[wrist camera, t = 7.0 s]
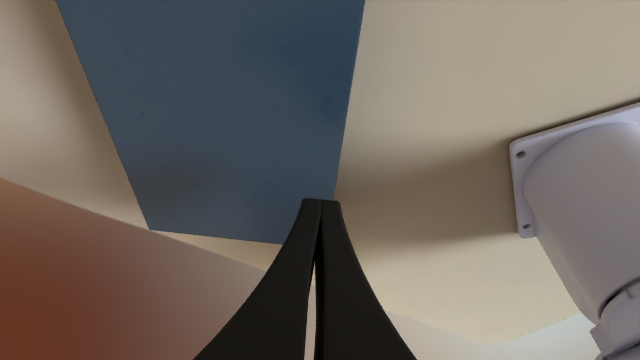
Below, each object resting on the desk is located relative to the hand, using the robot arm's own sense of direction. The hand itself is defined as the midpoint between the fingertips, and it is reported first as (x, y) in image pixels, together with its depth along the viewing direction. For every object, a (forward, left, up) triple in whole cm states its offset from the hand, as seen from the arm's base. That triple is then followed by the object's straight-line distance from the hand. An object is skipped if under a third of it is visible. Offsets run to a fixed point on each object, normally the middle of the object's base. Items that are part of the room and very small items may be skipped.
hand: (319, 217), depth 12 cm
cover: (+2, +4, -5) cm, 7 cm away
